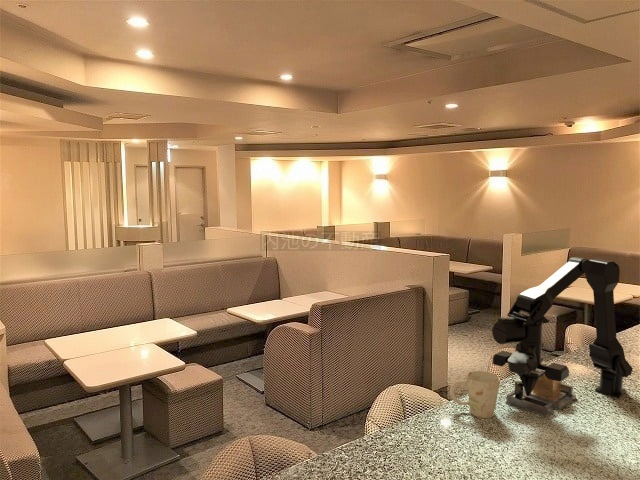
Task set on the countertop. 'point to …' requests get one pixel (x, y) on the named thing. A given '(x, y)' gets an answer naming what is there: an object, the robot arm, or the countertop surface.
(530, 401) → the lever track
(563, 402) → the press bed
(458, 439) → the countertop surface
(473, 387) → the mug
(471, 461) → the countertop surface
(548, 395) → the block
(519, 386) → the lever
